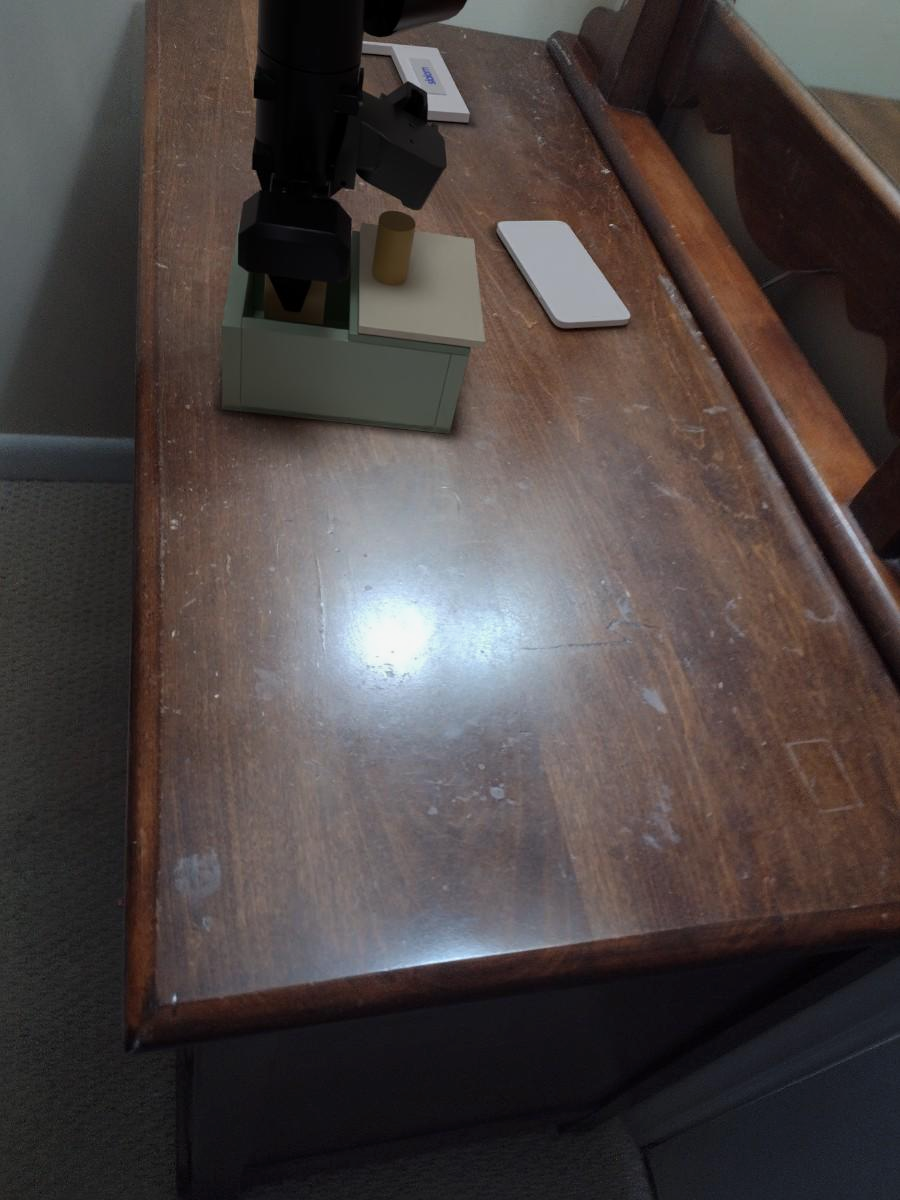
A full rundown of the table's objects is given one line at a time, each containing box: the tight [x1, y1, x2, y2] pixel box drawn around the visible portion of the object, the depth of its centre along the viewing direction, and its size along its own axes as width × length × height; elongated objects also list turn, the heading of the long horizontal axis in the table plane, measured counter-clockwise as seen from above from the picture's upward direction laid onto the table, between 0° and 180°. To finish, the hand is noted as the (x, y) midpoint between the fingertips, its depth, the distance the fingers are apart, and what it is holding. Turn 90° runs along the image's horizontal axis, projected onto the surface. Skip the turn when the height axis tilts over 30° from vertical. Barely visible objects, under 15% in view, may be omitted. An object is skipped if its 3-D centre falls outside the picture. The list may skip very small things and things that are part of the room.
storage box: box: [221, 221, 472, 435], centre depth 66 cm, size 16×12×8 cm
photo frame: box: [362, 40, 471, 123], centre depth 97 cm, size 15×1×18 cm
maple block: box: [264, 274, 327, 325], centre depth 62 cm, size 4×4×4 cm
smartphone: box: [496, 220, 631, 329], centre depth 81 cm, size 7×1×15 cm
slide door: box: [358, 210, 486, 350], centre depth 62 cm, size 8×12×5 cm
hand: (294, 291), depth 63 cm, fingers closed on maple block, 4 cm apart
